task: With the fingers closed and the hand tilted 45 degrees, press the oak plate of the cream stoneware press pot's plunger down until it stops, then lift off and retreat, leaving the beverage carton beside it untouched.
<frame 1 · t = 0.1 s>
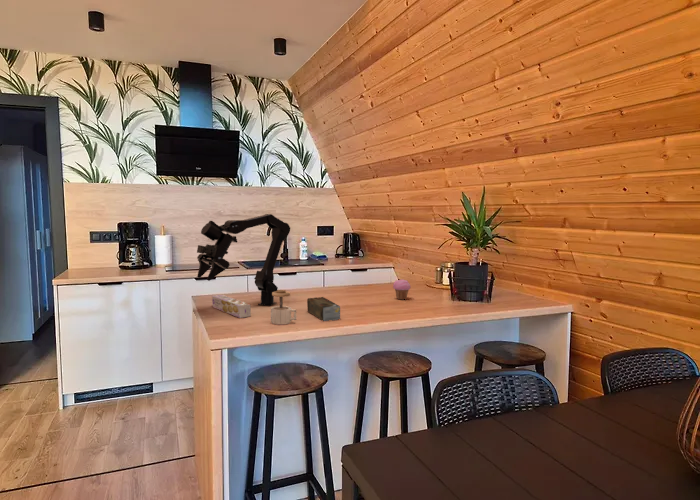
hand: (203, 278, 189), 15 cm above the table, tool tilted 35°, fingers open, 9 cm apart
cupcake: (401, 299, 229), on the table
box: (230, 312, 196), on the table
plunger: (281, 299, 178), point 9 cm above the table, slide at 0.0 cm
press pot: (281, 322, 179), on the table
beverage carton: (323, 316, 192), on the table
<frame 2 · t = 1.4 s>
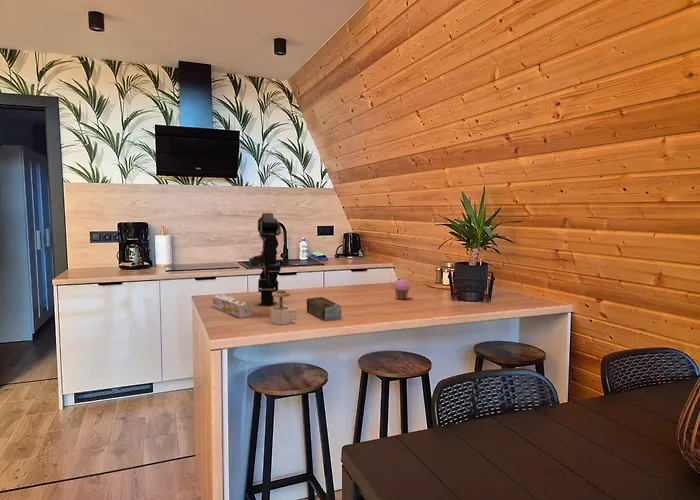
hand: (269, 285, 192), 12 cm above the table, tool pointing down, fingers open, 9 cm apart
nothing on the table moved.
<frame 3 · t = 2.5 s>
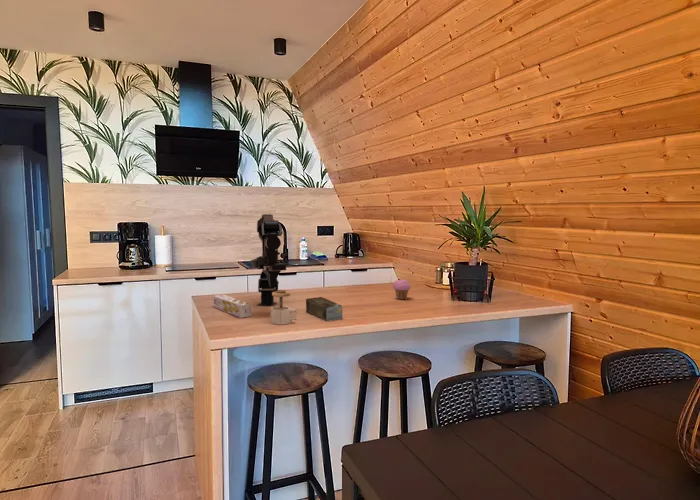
hand: (271, 286, 192), 11 cm above the table, tool pointing down, fingers closed
nothing on the table moved.
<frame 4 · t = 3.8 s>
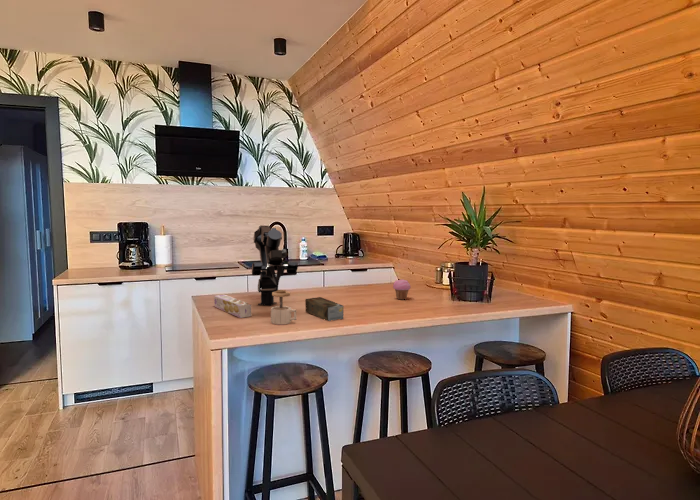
hand: (277, 284, 185), 14 cm above the table, tool tilted 45°, fingers closed
nothing on the table moved.
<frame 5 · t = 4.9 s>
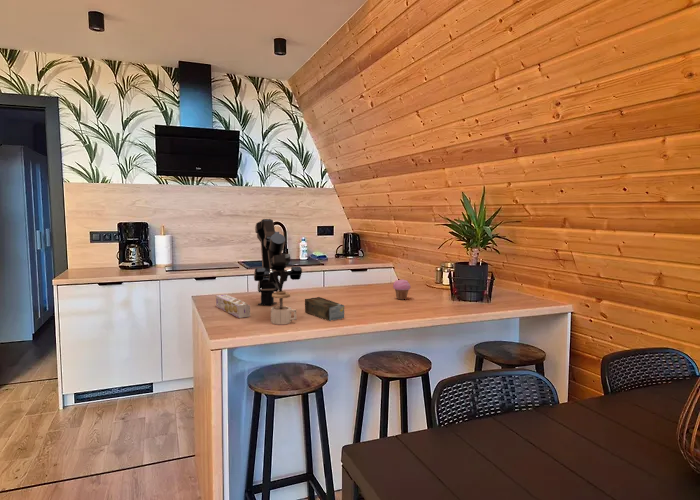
hand: (280, 290, 179), 12 cm above the table, tool tilted 45°, fingers closed, pressing on plunger
plunger: (281, 300, 178), point 9 cm above the table, slide at 0.5 cm, touching gripper
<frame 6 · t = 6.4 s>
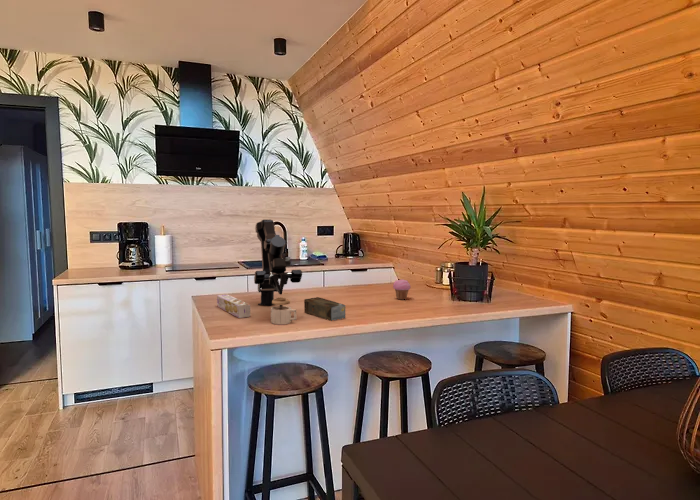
hand: (280, 293, 178), 11 cm above the table, tool tilted 45°, fingers closed
plunger: (281, 307, 178), point 6 cm above the table, slide at 3.1 cm
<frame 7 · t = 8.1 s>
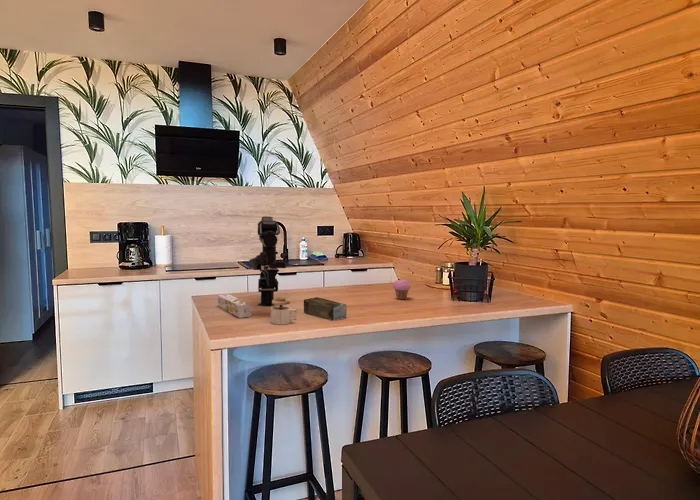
hand: (269, 286, 192), 12 cm above the table, tool pointing down, fingers closed
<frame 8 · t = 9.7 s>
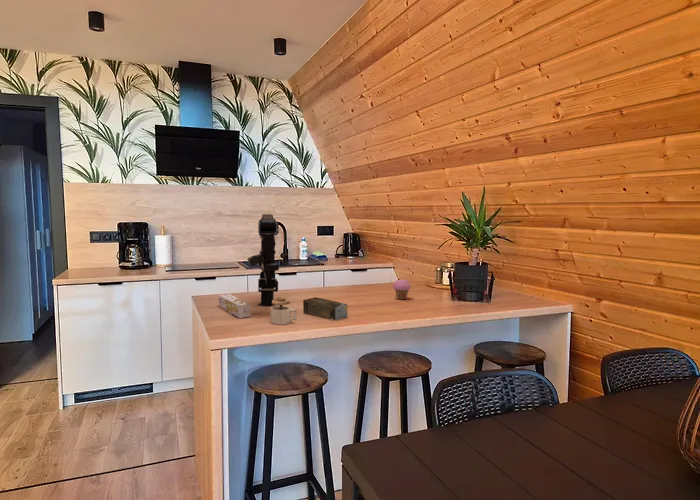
hand: (268, 284, 194), 12 cm above the table, tool pointing down, fingers closed
at the end: plunger slide at 3.1 cm; the gripper is holding nothing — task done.
